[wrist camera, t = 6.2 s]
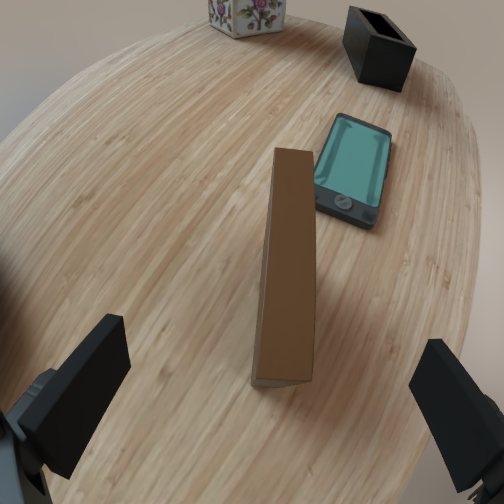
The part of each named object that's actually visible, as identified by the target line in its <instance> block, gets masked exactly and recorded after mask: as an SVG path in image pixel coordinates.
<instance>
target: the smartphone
mask: <svg viewBox="0 0 504 504" xmlns="http://www.w3.org/2000/svg"><path fill="white" fill-rule="evenodd" d="M391 138H392V135H391V133H390V132H389V131H387V130H384V129H382V128H380V127H377V126H375V125H372V124H370V123H367V122H365V121H362V120H360V119H357V118H354V117H352V116H349V115H346V114H343V113H338V114H337V115H336V118H335V120H334V123H333V125H332V127H331V130H330V132H329V135H328V137H327V139H326V142H325V144H324V146H323V149H322V151H321V153H320V156H319V158H318V160H317V163H316V165H315V167H314V183H315V209H316V210H319V211H321V212H324V213H327V214H329V215H332V216H334V217H337V218H339V219H341V220H344V221H346V222H349V223H351V224H354V225H356V226H358V227H361V228H363V229H366V230H369V229H371V228H372V227H373V226H374V224H375V223H376V220H377V216H378V211H379V207H380V202H381V197H382V192H383V186H384V181H385V179H386V177H387V171H388V165H389V164H388V162H389V159H390V152H391Z"/></svg>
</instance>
